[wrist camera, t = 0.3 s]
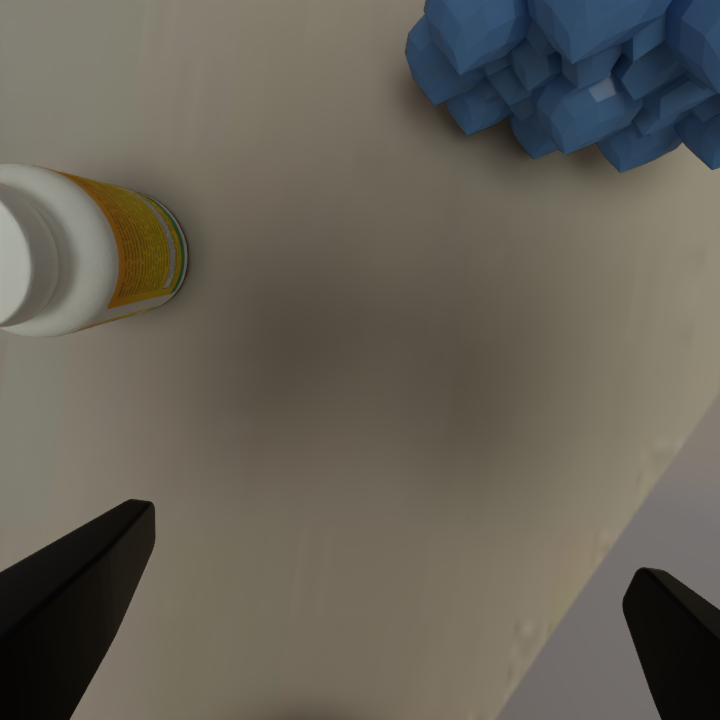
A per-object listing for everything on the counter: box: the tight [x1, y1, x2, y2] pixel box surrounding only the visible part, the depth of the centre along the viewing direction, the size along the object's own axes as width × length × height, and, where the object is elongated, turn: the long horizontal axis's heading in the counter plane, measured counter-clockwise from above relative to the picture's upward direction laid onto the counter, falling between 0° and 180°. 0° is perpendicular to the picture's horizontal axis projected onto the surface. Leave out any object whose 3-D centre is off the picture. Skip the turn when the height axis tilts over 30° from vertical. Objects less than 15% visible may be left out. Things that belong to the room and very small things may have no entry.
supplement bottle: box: [0, 164, 188, 337], centre depth 16 cm, size 5×5×10 cm
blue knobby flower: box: [405, 0, 720, 173], centre depth 13 cm, size 12×7×12 cm, turn 74°
